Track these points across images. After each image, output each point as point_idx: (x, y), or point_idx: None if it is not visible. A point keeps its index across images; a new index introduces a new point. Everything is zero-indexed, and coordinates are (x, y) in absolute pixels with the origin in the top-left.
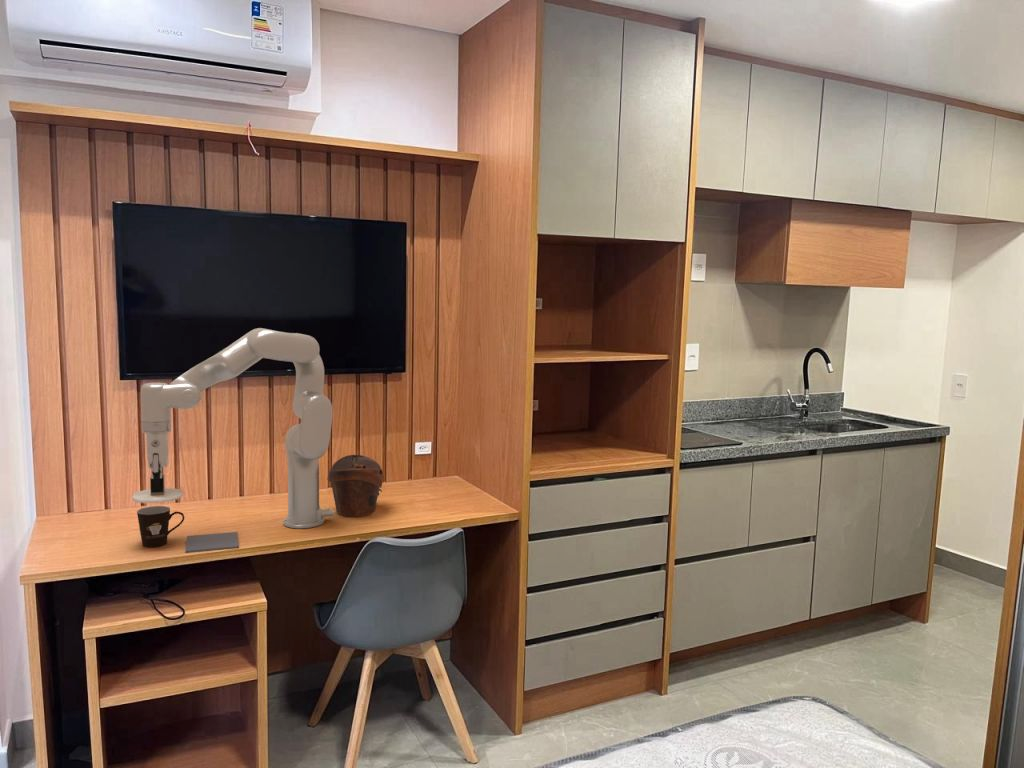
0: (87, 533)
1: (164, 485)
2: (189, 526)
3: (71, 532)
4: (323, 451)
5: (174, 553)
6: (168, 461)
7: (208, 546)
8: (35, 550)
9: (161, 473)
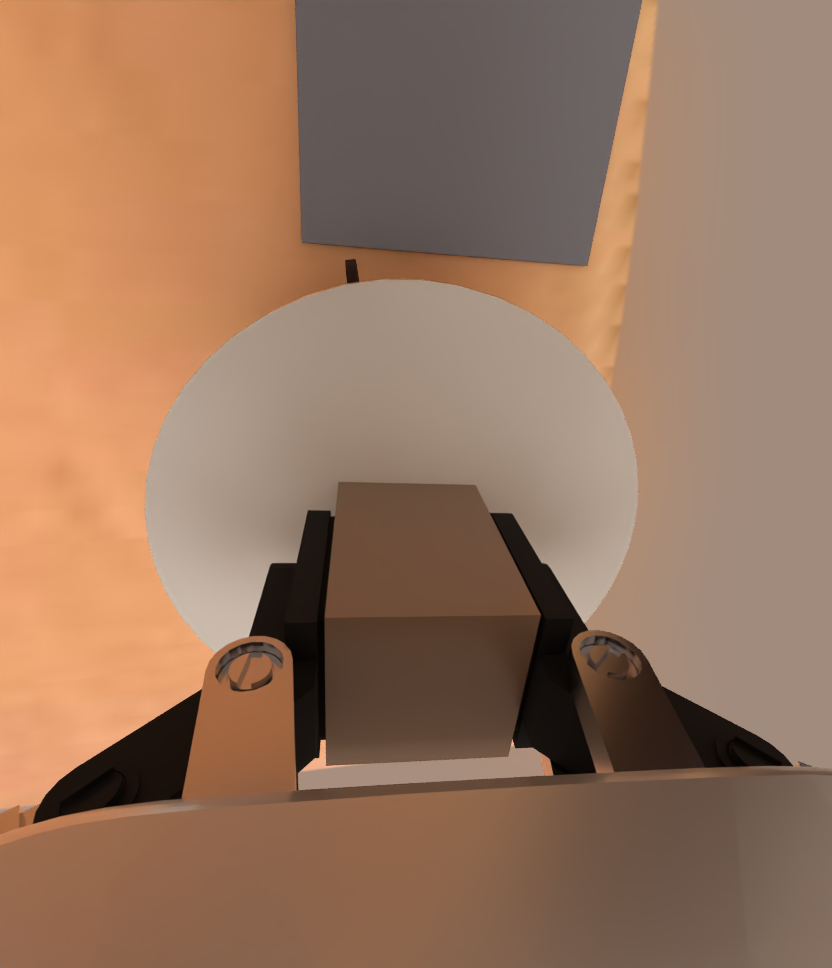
0: (126, 676)
1: (392, 525)
2: (36, 211)
3: (102, 722)
4: None
5: (563, 322)
6: (171, 835)
7: (569, 113)
8: (314, 769)
9: (673, 711)
